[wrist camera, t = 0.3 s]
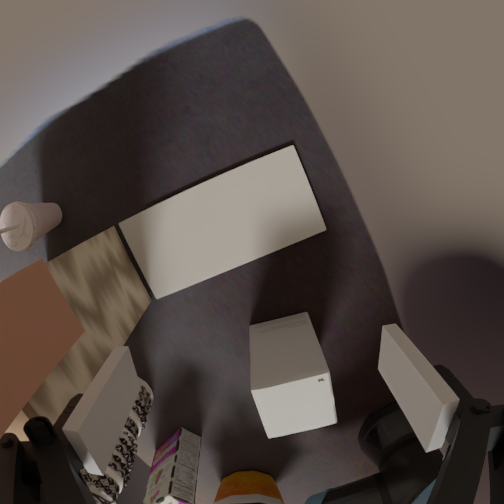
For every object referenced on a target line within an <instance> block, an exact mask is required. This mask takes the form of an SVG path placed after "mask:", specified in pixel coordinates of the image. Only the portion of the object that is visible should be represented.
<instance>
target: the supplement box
mask: <svg viewBox="0 0 504 504" xmlns="http://www.w3.org/2000/svg"><path fill="white" fill-rule="evenodd" d="M249 333H250V381H251V392H252V395H253V398H254V401H255V403H256V406H257V409H258V412H259V415H260V418H261V420H262V423H263V426H264V428H265V431H266V434H267V436H268V438H274V437H280V436H285V435H289V434H293V433H298V432H302V431H307V430H311V429H316V428H320V427H324V426H328V425H331V424H335V423H337V416H336V410H335V403H334V396H333V390H332V384H331V377H330V372H329V369H328V366H327V363H326V361H325V358H324V355H323V352H322V350H321V347H320V344H319V342H318V339H317V336H316V334H315V331H314V328H313V326H312V323H311V320H310V318H309V315H308V313H307V312H303V313H299V314H295V315H291V316H287V317H283V318H279V319H275V320H271V321H267V322H262V323H258V324H254V325H250V326H249Z"/></svg>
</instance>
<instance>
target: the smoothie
mask: <svg viewBox="0 0 504 504" xmlns="http://www.w3.org/2000/svg"><path fill="white" fill-rule="evenodd" d="M61 220H62V211H61V208H60V207H59V206H58V205H57V204H56V203H28V204H27V203H26V204H24V203H22V202H14V203H11V204H9V205H7V206H6V207H5V208H4V210H3V211H2V214H1V217H0V234H1V236H2V238H3V240H4V242H5V244H6V245H7V246H8V247H9V248H10V249H11V250H13V251H16V252H21V251H24V250H27V249H29V248H30V247H31V246H32V245H33V244H34V242H35V241H36V240H38V239H39V238H40V237H42V236H43V235H45V234H46V233H48V232H49V231H50V230H52V229H53V228H55V227H56V226H58V225H59V224H60V222H61Z"/></svg>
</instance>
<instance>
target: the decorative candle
mask: <svg viewBox="0 0 504 504" xmlns="http://www.w3.org/2000/svg"><path fill="white" fill-rule="evenodd" d="M137 377H138V376H137ZM138 380H139V383H140V386H141V389H140V391H139V393H138V396H137V398H136V400H135V402H134V405H133V407H132V409H131V412H130V414H129V416H128V419H127V421H126V423H125V426H124V428H123V430H122V433H121V435H120V437H119V440H118V442H117V445H116V447H115V449H114V452H113V454H112V457H111V459H110V461H109V464H108V466H107V469H106V471H105V474H104V476H101V475H96V474H90V473H88V472H87V470H86V469H85V467H84V466H82V468H81V470H80V472H81V473H82V475H83V477H84V479H85V481H86V483H87V485H88V487H89V489H90V491H91V493H92V495H93V497H94V499H95V501H96V503H97V504H116V501H117V498H118V495H119V493H121V490H123V488H122V487H127V484H126V483H128V482H130V478H129V476H130V475H131V473H130V471H132V466H131V465H133V464H134V458H135V454H136V453H137V450H136V449H137V442H136V440H137V438H138V437H139V435H140V432H141V429H144V428H145V425H144V424H145V422H146V421H147V419H146V417H147V416H149V413H150V412H149V410H151V404H152V402H153V398H154V395H153V392H152V389H151V388H150V387H149V385H148V384H147V383H146V382H145V381H144V380H142V379H141V378H139V377H138ZM129 458H130V459H129ZM124 476H126V478H125V477H124ZM123 478H124V481H123Z"/></svg>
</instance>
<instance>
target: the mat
mask: <svg viewBox="0 0 504 504" xmlns="http://www.w3.org/2000/svg"><path fill="white" fill-rule="evenodd" d="M118 224H119V226H120V228H121V230H122V232H123V235H124V237H125V239H126V241H127V243H128V245H129V247H130V249H131V251H132V253H133V255H134V257H135V259H136V261H137V263H138V265H139V267H140V269H141V271H142V273H143V275H144V277H145V279H146V281H147V283H148V284H149V286H150V288H151V290H152V292H153V294H154V296H155V298H156V299H159V298H162V297H164V296H167V295H169V294H172V293H174V292H176V291H179V290H181V289H184V288H186V287H189V286H191V285H194V284H196V283H199V282H201V281H204V280H206V279H208V278H211V277H213V276H216V275H218V274H221V273H223V272H226V271H228V270H230V269H233V268H235V267H238V266H240V265H243V264H245V263H248V262H250V261H252V260H255V259H257V258H260V257H262V256H265V255H267V254H269V253H272V252H274V251H277V250H279V249H282V248H284V247H286V246H289V245H291V244H294V243H296V242H299V241H301V240H303V239H306V238H308V237H311V236H313V235H315V234H318V233H320V232H323V231H325V230H327V229H326V227H325V224H324V221H323V218H322V216H321V213H320V210H319V208H318V205H317V203H316V200H315V197H314V195H313V192H312V190H311V187H310V184H309V182H308V179H307V177H306V174H305V172H304V169H303V167H302V165H301V162H300V160H299V157H298V155H297V152H296V150H295V148H294V145H292V146H289V147H286V148H284V149H281V150H279V151H276V152H274V153H271V154H269V155H266V156H264V157H261V158H259V159H256V160H254V161H252V162H249V163H247V164H244V165H242V166H240V167H237V168H235V169H233V170H230V171H228V172H226V173H223V174H221V175H219V176H217V177H214V178H212V179H210V180H208V181H205V182H203V183H201V184H199V185H197V186H194V187H192V188H190V189H188V190H186V191H183V192H181V193H179V194H177V195H175V196H173V197H171V198H169V199H167V200H164V201H162V202H160V203H158V204H156V205H154V206H152V207H150V208H148V209H146V210H144V211H142V212H140V213H138V214H136V215H134V216H132V217H130V218H128V219H126V220H124V221H122V222H120V223H118Z"/></svg>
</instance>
